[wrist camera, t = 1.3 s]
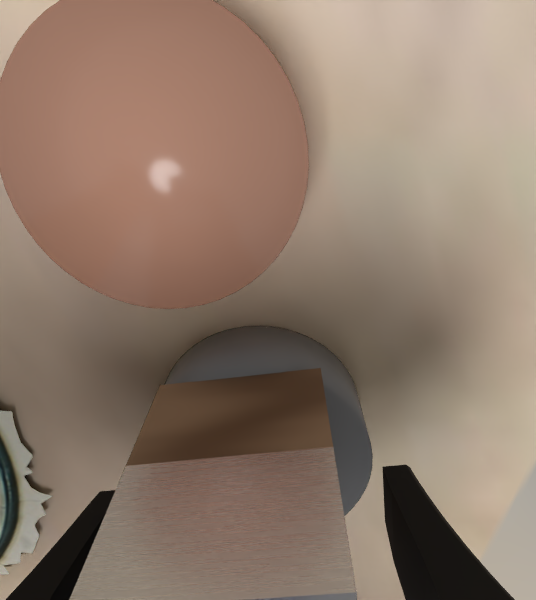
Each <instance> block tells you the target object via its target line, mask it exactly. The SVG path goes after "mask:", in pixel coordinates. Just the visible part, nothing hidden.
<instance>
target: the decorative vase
mask: <svg viewBox="0 0 536 600" xmlns="http://www.w3.org/2000/svg"><path fill="white" fill-rule="evenodd" d="M32 457H33V455H32V454H31V453H30V452H29V451H28V450H27V449H26V448H25V447H24V445H23V444H22V443H21V442H20V439H19V436H18V433H17V431H16V428H15V425H14V420H13V414H12V411H0V575H4V574H9V572H8V571H7V570H6V568H5V567H4V566H3V565H10V564H16V563H20V557H21V553H33V551H34V548H35V545H36V543H37V540H38V538H39V534H38V532H37V530H36V527H35V524H36V522H37V521H38V519H39V518H40V517H42V516H44V515H46V512H45V511H44V509H43V507H42V505H41V503H43V502H44V501H46V500H48V499H49V498H51V497H52V496H51V495H47V494H43V493H40V492H38V491H36V490H35V489H33V488H31V487H30V485H29V483H28V482H27V480H26V479H25V477H24V476H25V475H28V474H31V473H33V472H32V471H31V470H30V469H29V468H27V466H28V464H29V462H30V460H31V459H32Z"/></svg>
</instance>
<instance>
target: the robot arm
mask: <svg viewBox="0 0 536 600" xmlns="http://www.w3.org/2000/svg"><path fill="white" fill-rule="evenodd" d="M383 485H384V507H385V523H386V527H387V532H388V537H389V542H390V546H391V551H392V555H393V560H394V564H395V567H396V570H397V573H398V577H399V580H400V583H401V586H402V589H403V593H404V596H405V599H406V600H514V598H513V597H511V596H510V594H509V593H508V592H507V591H506V590H505V589H504V588H503V587H502V586H501V585H500V584H499V583H498V581H497V580H496V579H495V578H494V577H493V576H492V575H491V574H490V573H489V572H488V570H487V569H486V568H485V567H484V566H483V565H482V563H481V562H480V561H479V560H478V559H477V558H476V557H475V555H474V554H473V553H472V552H471V551H470V549H469V548H468V547H467V546H466V545H465V543H464V542H463V541H462V540H461V538H460V537H459V536H458V535H457V533H456V532H455V531H454V530H453V528H452V527H451V526H450V525H449V523H448V522H447V521H446V519H445V518H444V517H443V516H442V514H441V513H440V512H439V510H438V509H437V507H436V506H435V505H434V503H433V502H432V500H431V499H430V498H429V496H428V495H427V493H426V492H425V490H424V489H423V487H422V486H421V484H420V483H419V481H418V480H417V478H416V477H415V475H414V473H413V472H412V470H411V468H410V467H408V466H407V465H398V466H386V467H383ZM114 493H115V490H112V491H101V492H99V493H98V494H97V496H96V497H95V498H94V499H93V500H92V501H91V503H90V504H89V505H88V506H87V507H86V509H85V510H84V511H83V512H82V513H81V514H80V516H79V517H78V518H77V519H76V520H75V522H74V523H73V524H72V525H71V526H70V528H69V529H68V530H67V531H66V532H65V534H64V535H63V536H62V537H61V538H60V540H59V541H58V542H57V543H56V544H55V545H54V546H53V548H52V549H51V550H50V551H49V552H48V553H47V555H46V556H45V557H44V558H43V559H42V560H41V562H40V563H39V564H38V565H37V566H36V567H35V568H34V569H33V571H32V572H31V573H30V574H29V575H28V576H27V577H26V578H25V579H24V580H23V581H22V582H21V584H20V585H19V586H18V587H17V588H16V589H15V590H14V591H13V592H12V593H11V594H10V596H9V597H8V598H7V599H6V600H69V599H70V597H71V594H72V592H73V590H74V587H75V585H76V583H77V580H78V578H79V576H80V573H81V571H82V568H83V566H84V564H85V561H86V559H87V557H88V554H89V552H90V549H91V547H92V545H93V542H94V540H95V538H96V535H97V533H98V531H99V528H100V526H101V523H102V521H103V519H104V516H105V514H106V512H107V509H108V507H109V505H110V502H111V500H112V497H113V495H114Z"/></svg>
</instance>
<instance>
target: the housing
mask: <svg viewBox="0 0 536 600" xmlns="http://www.w3.org/2000/svg"><path fill="white" fill-rule="evenodd" d="M69 600H357V594H356V587H355V581H354V574H353V568H352V562H351V555H350V549H349V543H348V537H347V530H346V524H345V518H344V511H343V505H342V499H341V493H340V486H339V480H338V474H337V467H336V461H335V455H334V449H333V442H332V436H331V430H330V423H329V417H328V411H327V405H326V398H325V392H324V386H323V379H322V373H321V368H315V369H306V370H297V371H287V372H280V373H271V374H261V375H252V376H243V377H233V378H224V379H215V380H205V381H196V382H185V383H175V384H166V385H160V386H159V389H158V391H157V393H156V396H155V398H154V400H153V403H152V405H151V407H150V410H149V412H148V415H147V417H146V419H145V422H144V424H143V426H142V429H141V431H140V434H139V436H138V438H137V441H136V443H135V445H134V448H133V450H132V452H131V455H130V457H129V460H128V462H127V464H126V467H125V469H124V471H123V474H122V476H121V478H120V481H119V483H118V486H117V488H116V490H115V493H114V495H113V497H112V500H111V502H110V505H109V507H108V509H107V512H106V514H105V516H104V519H103V521H102V523H101V526H100V528H99V531H98V533H97V535H96V538H95V540H94V542H93V545H92V547H91V549H90V552H89V554H88V557H87V559H86V561H85V564H84V566H83V568H82V571H81V573H80V576H79V578H78V580H77V583H76V585H75V587H74V590H73V592H72V594H71V597H70V599H69Z"/></svg>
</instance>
